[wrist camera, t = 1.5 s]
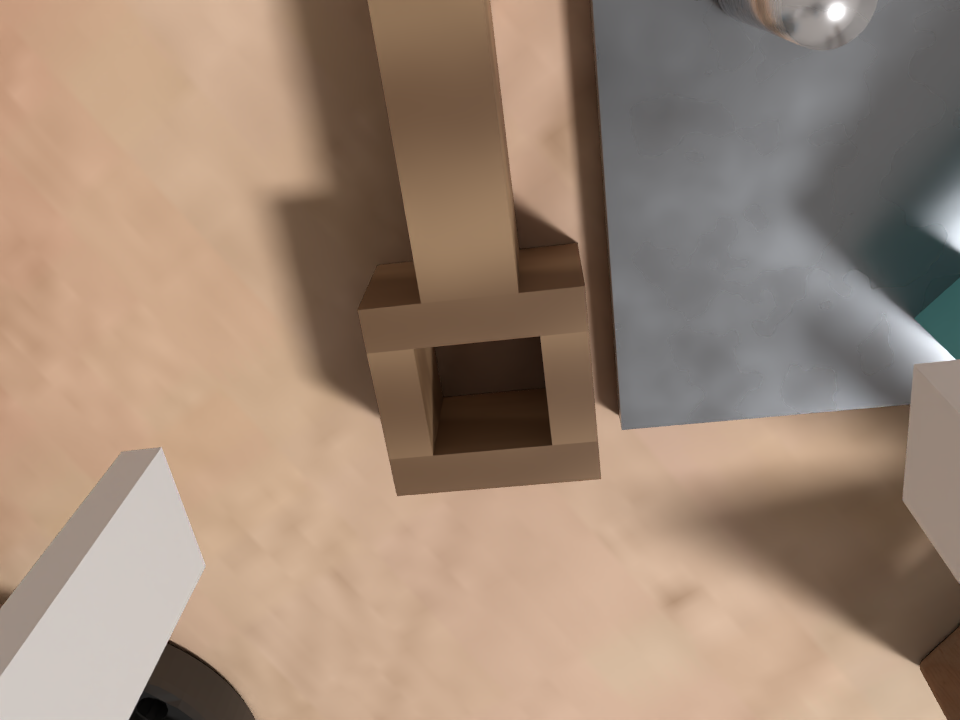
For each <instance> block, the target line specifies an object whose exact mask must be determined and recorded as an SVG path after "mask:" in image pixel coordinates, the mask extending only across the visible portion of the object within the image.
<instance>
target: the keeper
mask: <svg viewBox="0 0 960 720" xmlns="http://www.w3.org/2000/svg"><path fill="white" fill-rule="evenodd" d="M914 319H915V320H916V321H917V322H918V323H919V324H920V325H921V326H922V327H923V328H924V329H925V330H926V331H927V332H928V333H929V334H930V335H931V336H932V337H933V338H934V339H935V340H936V341H937V342H938V343H939V344H940V345H941V346H942V347H943V348H945V349H946V350H947V351H948V352H949V353H950V354H951V355H952V356H953V357H954V358H955V359H956V360H958V359H960V278H959V279H958V280H956V281H955V282H954V283H953V284H952V285H951V286H950V287H949V288H947V289H946V290H945V291H944V292H943V293H942V294H941V295H940V296H939V297H937V298H936V299H935V300H934V301H933V302H932V303H931V304H930V305H928V306H927V307H926V308H925V309H924V310H923V311H922V312H921V313H919V314H918V315H917V316H916V317H915V318H914Z"/></svg>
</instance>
